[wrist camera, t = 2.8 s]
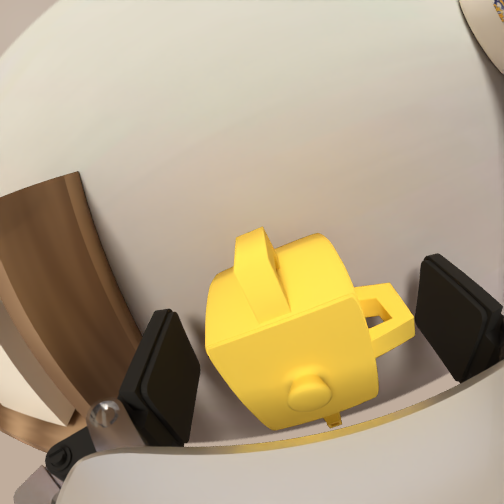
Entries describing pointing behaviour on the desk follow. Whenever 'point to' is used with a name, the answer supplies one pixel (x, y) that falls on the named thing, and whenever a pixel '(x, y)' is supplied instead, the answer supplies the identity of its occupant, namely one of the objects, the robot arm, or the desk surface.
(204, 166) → the desk surface
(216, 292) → the teapot
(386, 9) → the desk surface
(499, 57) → the bath foam
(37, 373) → the plate
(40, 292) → the box
